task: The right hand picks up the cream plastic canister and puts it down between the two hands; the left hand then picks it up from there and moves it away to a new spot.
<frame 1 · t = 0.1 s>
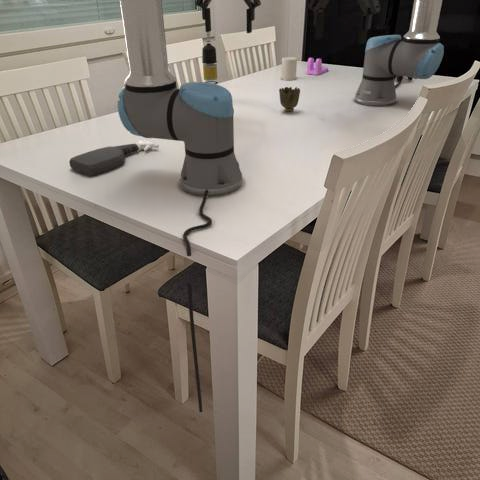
left hand: (228, 32, 139), 28 cm above the table, tool pointing down, fingers open, 13 cm apart
right hand: (339, 41, 119), 28 cm above the table, tool pointing down, fingers open, 13 cm apart
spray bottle: (117, 159, 125), on the table
squiggle: (399, 80, 200), on the table
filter: (211, 98, 179), on the table
cup: (288, 112, 161), on the table
bracket: (318, 72, 218), on the table
canister: (288, 78, 207), on the table
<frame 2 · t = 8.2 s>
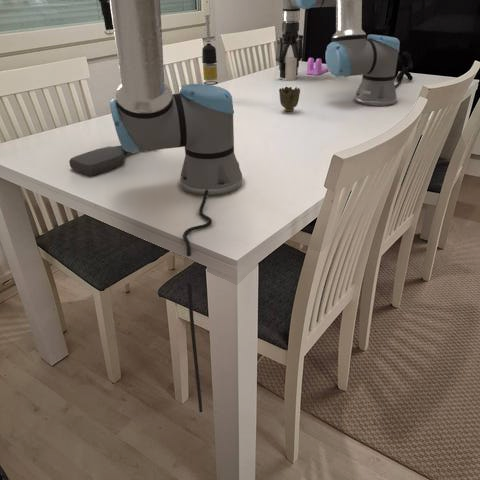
left hand: (127, 31, 117), 31 cm above the table, tool pointing down, fingers open, 13 cm apart
right hand: (288, 76, 207), 1 cm above the table, tool pointing down, fingers closed on canister, 7 cm apart
canister: (288, 78, 207), on the table, touching right hand
everything else where it was.
when the right hand's fingers open (3 cm above the table, at t = 20.7 s): canister drops 2 cm, on the table.
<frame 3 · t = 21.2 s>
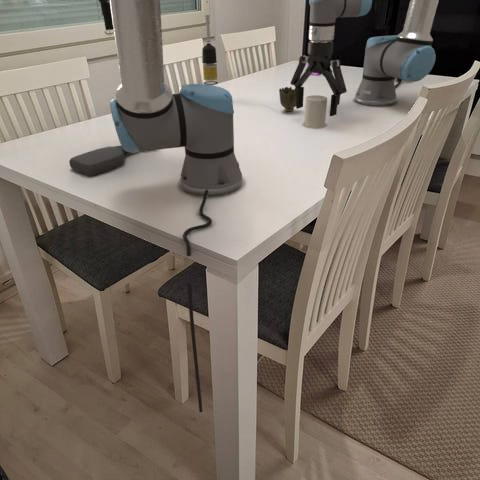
left hand: (127, 31, 117), 31 cm above the table, tool pointing down, fingers open, 13 cm apart
right hand: (315, 111, 146), 4 cm above the table, tool pointing down, fingers open, 13 cm apart
canister: (314, 124, 148), on the table
everything else where it was.
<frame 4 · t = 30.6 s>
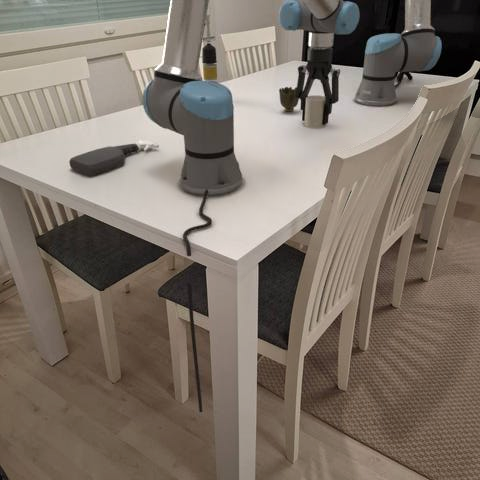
left hand: (314, 121, 148), 1 cm above the table, tool pointing down, fingers closed on canister, 7 cm apart
right hand: (479, 11, 128), 33 cm above the table, tool pointing down, fingers open, 13 cm apart
canister: (314, 124, 148), on the table, touching left hand
everything else where it was.
when the left hand's fingers open (3 cm above the table, at t = 44.7 s): canister drops 2 cm, on the table.
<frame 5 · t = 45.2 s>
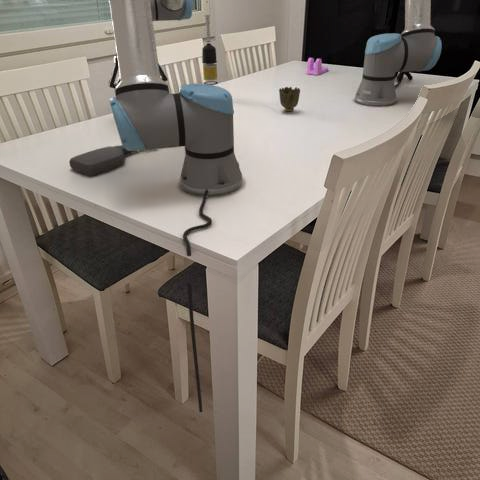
left hand: (141, 105, 156), 4 cm above the table, tool pointing down, fingers open, 13 cm apart
right hand: (479, 11, 128), 33 cm above the table, tool pointing down, fingers open, 13 cm apart
canister: (143, 117, 159), on the table
everything else where it was.
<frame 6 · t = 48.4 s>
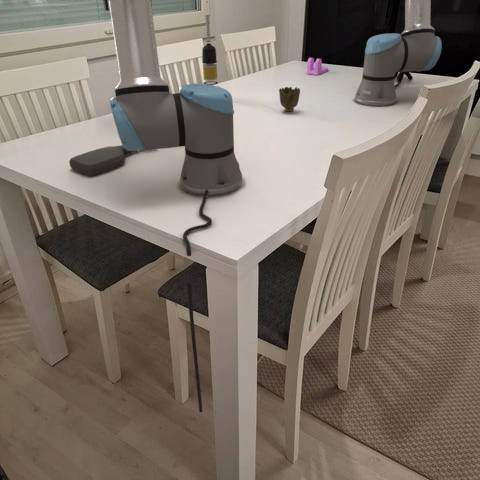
left hand: (128, 9, 140), 34 cm above the table, tool pointing down, fingers open, 13 cm apart
right hand: (479, 11, 128), 33 cm above the table, tool pointing down, fingers open, 13 cm apart
nothing on the table moved.
at the end: canister inside the target area (0.0 cm from its centre), on the table; canister tilted 0°; the two hands never held the canister at the same time; the left hand is holding nothing; the right hand is holding nothing; canister at rest at the end (0.0 cm/s) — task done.
